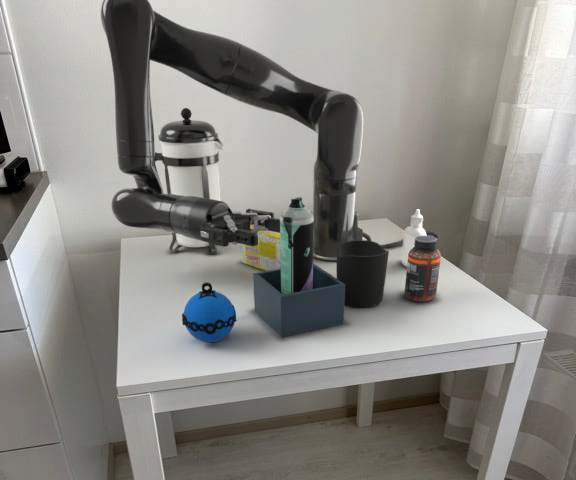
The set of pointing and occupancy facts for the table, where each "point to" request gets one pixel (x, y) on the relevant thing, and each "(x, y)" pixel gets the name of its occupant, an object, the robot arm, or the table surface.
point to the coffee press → (190, 165)
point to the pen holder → (362, 272)
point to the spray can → (296, 248)
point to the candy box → (263, 252)
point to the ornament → (209, 315)
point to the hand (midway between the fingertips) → (272, 233)
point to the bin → (299, 303)
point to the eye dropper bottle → (412, 235)
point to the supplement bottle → (422, 269)
